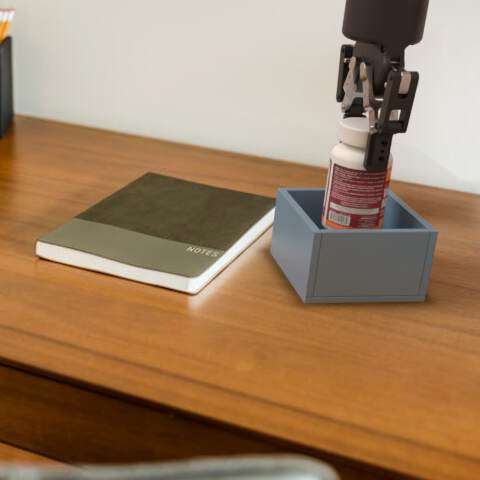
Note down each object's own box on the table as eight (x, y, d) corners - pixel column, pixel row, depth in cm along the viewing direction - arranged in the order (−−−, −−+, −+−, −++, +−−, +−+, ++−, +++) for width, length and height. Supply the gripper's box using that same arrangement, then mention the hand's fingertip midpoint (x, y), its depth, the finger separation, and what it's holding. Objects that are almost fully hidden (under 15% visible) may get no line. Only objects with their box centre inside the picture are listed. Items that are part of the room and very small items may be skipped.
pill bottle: (390, 240, 91) (409, 133, 87) (332, 241, 90) (348, 132, 86) (366, 217, 97) (384, 115, 92) (312, 218, 96) (326, 115, 92)
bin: (376, 252, 102) (387, 187, 99) (424, 302, 91) (438, 231, 88) (269, 253, 101) (277, 187, 98) (304, 304, 89) (314, 232, 86)
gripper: (462, 1, 78) (427, 184, 85) (396, -20, 91) (370, 139, 98) (380, -1, 77) (351, 183, 84) (325, -23, 90) (303, 138, 97)
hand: (361, 159), depth 91 cm, fingers closed on pill bottle, 6 cm apart
